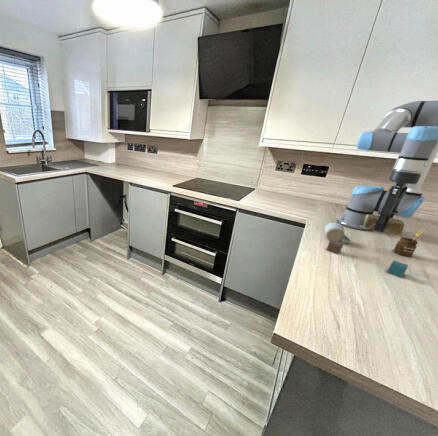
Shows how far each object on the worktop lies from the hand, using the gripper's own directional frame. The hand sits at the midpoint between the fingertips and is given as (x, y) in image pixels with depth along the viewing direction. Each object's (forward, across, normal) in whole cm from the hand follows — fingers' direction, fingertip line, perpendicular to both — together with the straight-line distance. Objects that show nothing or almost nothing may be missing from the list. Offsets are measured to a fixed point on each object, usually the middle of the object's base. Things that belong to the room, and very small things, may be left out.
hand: (380, 228), depth 94 cm
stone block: (+1, 0, 0) cm, 1 cm away
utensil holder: (+14, +21, -8) cm, 26 cm away
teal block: (+14, -5, -9) cm, 17 cm away
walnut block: (+14, -5, +11) cm, 18 cm away
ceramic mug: (+14, +10, +14) cm, 22 cm away
